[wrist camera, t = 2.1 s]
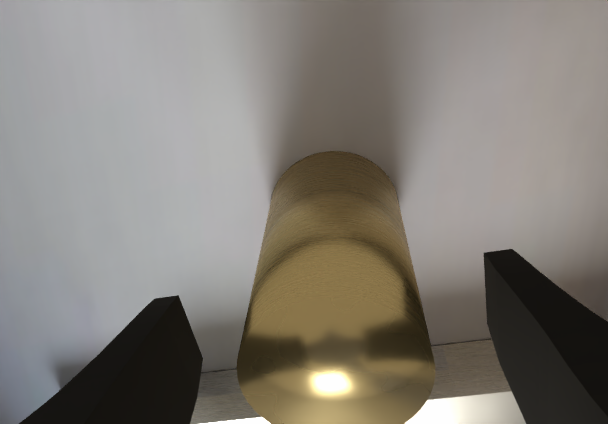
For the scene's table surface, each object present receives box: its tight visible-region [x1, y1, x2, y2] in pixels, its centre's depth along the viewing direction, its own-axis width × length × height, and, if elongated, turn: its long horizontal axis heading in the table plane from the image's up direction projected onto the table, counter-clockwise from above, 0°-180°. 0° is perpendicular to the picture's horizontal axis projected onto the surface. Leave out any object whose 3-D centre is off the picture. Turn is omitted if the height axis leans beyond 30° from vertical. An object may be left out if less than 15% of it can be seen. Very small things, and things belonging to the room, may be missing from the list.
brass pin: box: [237, 151, 435, 424], centre depth 14 cm, size 4×4×7 cm
